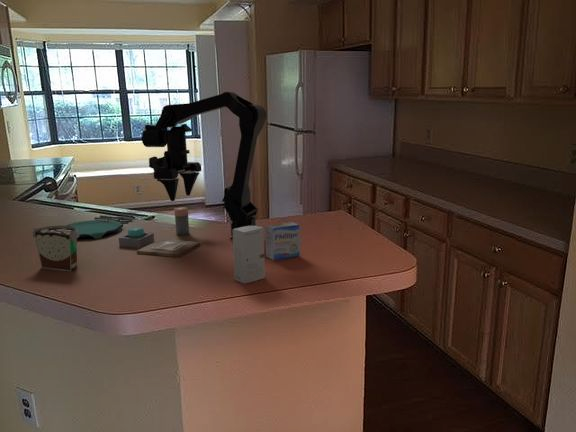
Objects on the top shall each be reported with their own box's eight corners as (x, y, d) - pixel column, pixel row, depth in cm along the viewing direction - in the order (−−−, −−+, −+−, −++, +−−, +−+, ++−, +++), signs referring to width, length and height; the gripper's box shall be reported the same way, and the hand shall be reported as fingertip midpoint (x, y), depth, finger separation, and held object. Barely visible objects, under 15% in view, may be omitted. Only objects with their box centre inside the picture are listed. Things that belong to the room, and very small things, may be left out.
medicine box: (273, 261, 126) (272, 228, 124) (265, 256, 130) (265, 224, 128) (300, 256, 130) (299, 224, 128) (292, 252, 134) (291, 221, 132)
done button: (147, 235, 145) (146, 228, 144) (138, 239, 141) (137, 231, 140) (134, 234, 146) (133, 227, 146) (125, 238, 142) (124, 230, 142)
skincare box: (245, 284, 110) (243, 232, 108) (233, 279, 114) (231, 228, 111) (266, 277, 114) (264, 227, 112) (253, 273, 118) (252, 224, 115)
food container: (93, 264, 126) (89, 226, 124) (76, 272, 121) (71, 232, 118) (55, 260, 130) (50, 223, 128) (36, 267, 125) (31, 229, 122)
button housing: (154, 241, 146) (153, 233, 146) (140, 248, 140) (139, 239, 139) (134, 240, 148) (133, 231, 148) (119, 246, 142) (118, 237, 141)
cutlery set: (41, 239, 151) (40, 232, 150) (97, 218, 180) (96, 212, 179) (100, 243, 147) (100, 235, 147) (147, 221, 176) (147, 214, 175)
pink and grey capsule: (192, 232, 156) (190, 207, 154) (185, 235, 152) (183, 210, 150) (180, 231, 157) (178, 206, 156) (173, 234, 153) (171, 209, 152)
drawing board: (200, 244, 142) (200, 241, 142) (178, 257, 131) (178, 253, 131) (161, 241, 146) (160, 238, 146) (136, 253, 135) (136, 249, 135)
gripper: (169, 144, 160) (173, 192, 163) (135, 150, 143) (140, 203, 146) (200, 144, 156) (203, 193, 160) (169, 150, 139) (173, 204, 143)
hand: (180, 198), depth 152 cm, fingers open, 9 cm apart
